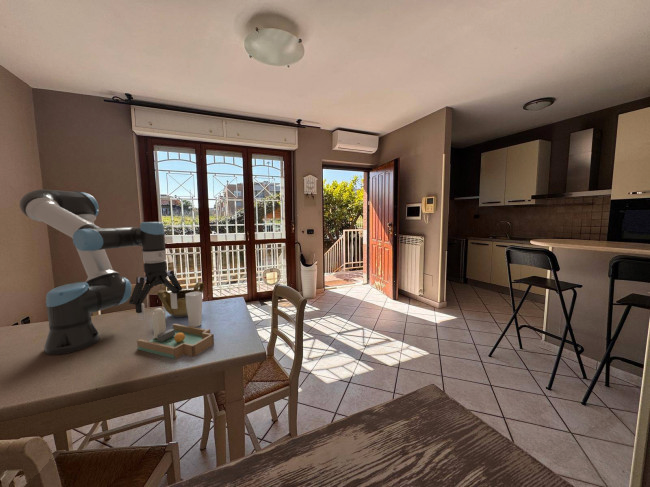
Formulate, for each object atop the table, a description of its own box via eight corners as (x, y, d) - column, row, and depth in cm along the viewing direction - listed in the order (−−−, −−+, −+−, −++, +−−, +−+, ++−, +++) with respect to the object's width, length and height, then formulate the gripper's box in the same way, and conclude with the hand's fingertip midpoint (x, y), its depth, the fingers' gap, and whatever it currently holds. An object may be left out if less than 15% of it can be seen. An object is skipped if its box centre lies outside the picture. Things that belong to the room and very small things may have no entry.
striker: (150, 339, 101) (148, 310, 100) (164, 332, 107) (162, 305, 106) (161, 341, 99) (159, 312, 98) (175, 335, 105) (173, 307, 104)
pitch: (137, 349, 97) (136, 339, 96) (175, 331, 112) (174, 322, 111) (186, 361, 89) (185, 350, 88) (219, 340, 104) (219, 331, 103)
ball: (172, 343, 99) (171, 334, 99) (180, 339, 102) (179, 330, 102) (179, 344, 98) (178, 335, 98) (187, 340, 101) (186, 331, 101)
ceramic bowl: (170, 326, 117) (168, 294, 116) (151, 318, 126) (149, 288, 124) (213, 310, 136) (212, 283, 135) (194, 305, 145) (192, 279, 143)
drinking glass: (196, 329, 114) (195, 296, 113) (183, 327, 116) (181, 295, 114) (206, 322, 121) (205, 291, 119) (194, 321, 122) (192, 290, 121)
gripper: (128, 267, 88) (133, 328, 90) (189, 257, 111) (192, 305, 113) (113, 266, 90) (119, 325, 92) (176, 256, 113) (179, 303, 116)
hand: (159, 314), depth 103 cm, fingers open, 13 cm apart
